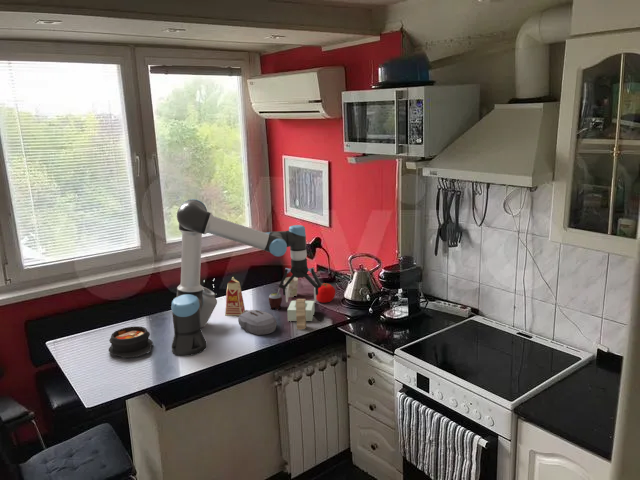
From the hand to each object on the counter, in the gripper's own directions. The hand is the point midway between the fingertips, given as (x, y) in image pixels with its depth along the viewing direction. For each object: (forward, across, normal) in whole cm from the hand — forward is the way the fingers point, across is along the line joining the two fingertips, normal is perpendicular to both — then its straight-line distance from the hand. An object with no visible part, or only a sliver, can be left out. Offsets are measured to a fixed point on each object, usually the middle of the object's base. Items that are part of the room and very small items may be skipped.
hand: (301, 301), depth 245 cm
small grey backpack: (+14, +21, +2) cm, 25 cm away
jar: (+9, +57, +3) cm, 58 cm away
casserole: (+13, +74, +27) cm, 79 cm away
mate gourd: (+14, +18, -27) cm, 35 cm away
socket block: (+13, +2, -15) cm, 20 cm away
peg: (+13, 0, 0) cm, 13 cm away
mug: (+14, +12, -45) cm, 49 cm away
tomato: (+14, -8, -38) cm, 41 cm away
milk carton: (+13, +38, -20) cm, 45 cm away
